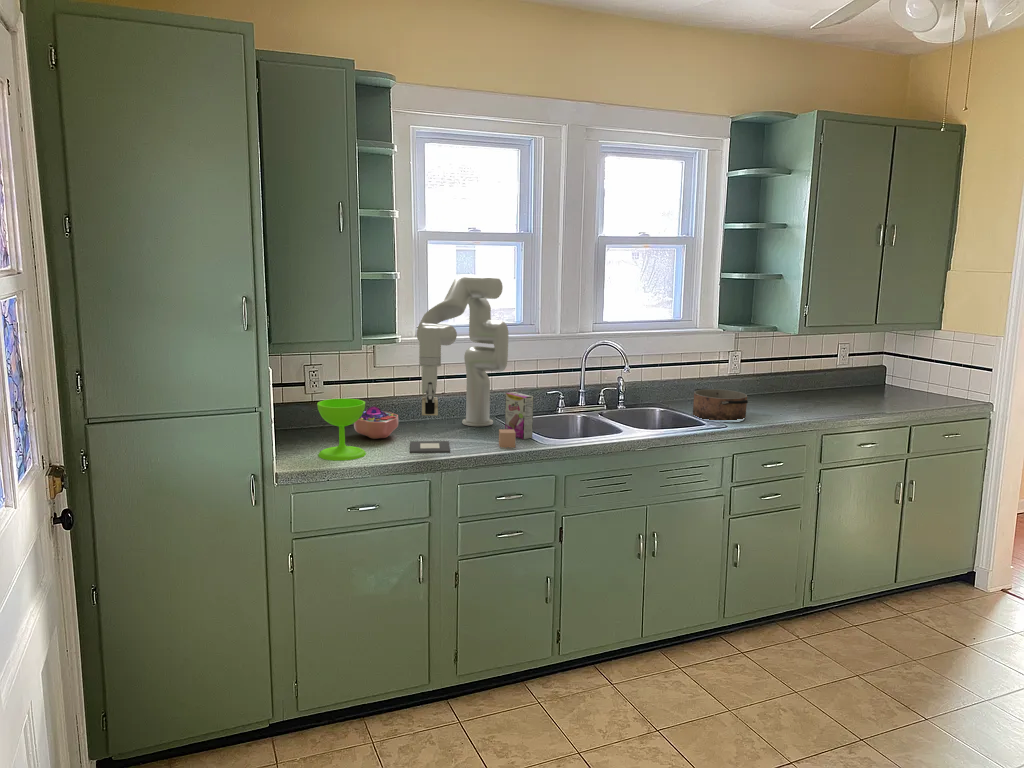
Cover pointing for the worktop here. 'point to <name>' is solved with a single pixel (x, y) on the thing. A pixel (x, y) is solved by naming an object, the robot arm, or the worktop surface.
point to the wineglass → (341, 426)
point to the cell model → (376, 423)
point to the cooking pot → (719, 404)
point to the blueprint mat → (429, 447)
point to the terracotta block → (507, 438)
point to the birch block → (435, 406)
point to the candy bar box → (519, 414)
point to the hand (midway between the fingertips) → (429, 411)
